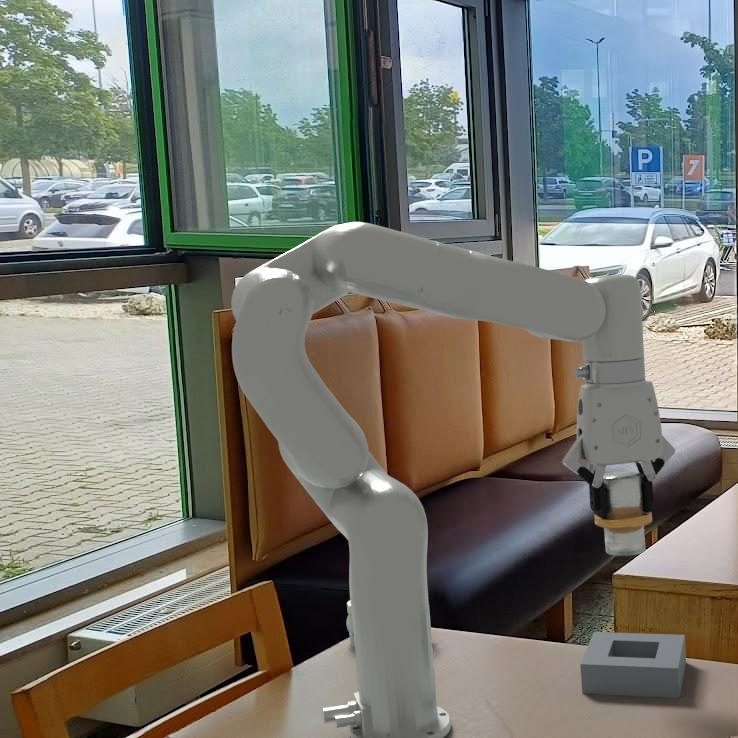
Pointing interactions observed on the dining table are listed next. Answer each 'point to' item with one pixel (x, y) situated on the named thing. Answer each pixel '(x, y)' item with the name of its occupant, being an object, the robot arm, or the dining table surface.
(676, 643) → the housing
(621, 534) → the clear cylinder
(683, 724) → the dining table surface
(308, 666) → the dining table surface
